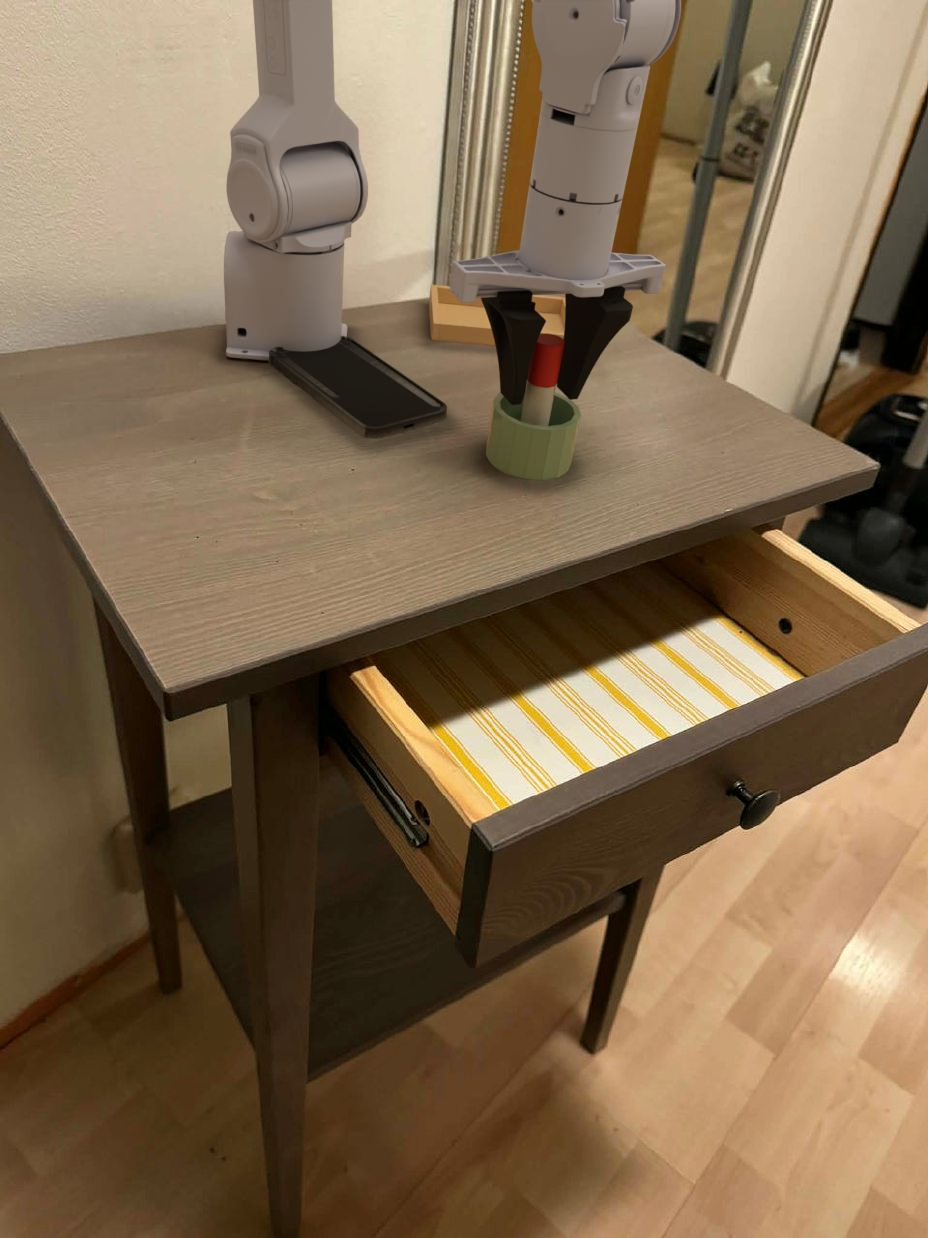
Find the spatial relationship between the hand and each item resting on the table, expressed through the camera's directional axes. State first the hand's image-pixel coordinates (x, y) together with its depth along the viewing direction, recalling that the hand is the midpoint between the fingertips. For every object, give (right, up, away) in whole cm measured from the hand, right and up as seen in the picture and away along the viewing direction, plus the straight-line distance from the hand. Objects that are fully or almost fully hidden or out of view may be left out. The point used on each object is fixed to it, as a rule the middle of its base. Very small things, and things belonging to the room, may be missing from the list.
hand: (539, 395), depth 66 cm
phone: (-14, +2, +9) cm, 17 cm away
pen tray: (-2, +11, +22) cm, 25 cm away
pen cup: (-1, -4, +3) cm, 5 cm away
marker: (-1, -4, +3) cm, 5 cm away
